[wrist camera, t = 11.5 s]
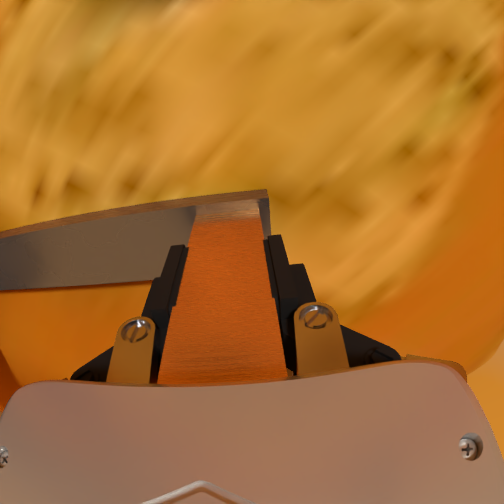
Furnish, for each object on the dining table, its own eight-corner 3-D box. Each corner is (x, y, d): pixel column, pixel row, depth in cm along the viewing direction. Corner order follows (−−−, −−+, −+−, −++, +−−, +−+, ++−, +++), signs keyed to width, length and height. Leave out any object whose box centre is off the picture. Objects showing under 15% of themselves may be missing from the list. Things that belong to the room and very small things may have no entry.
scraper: (266, 189, 15) (317, 389, 5) (270, 256, 17) (305, 453, 7) (-39, 242, 15) (-117, 333, 5) (-20, 282, 17) (-84, 378, 7)
